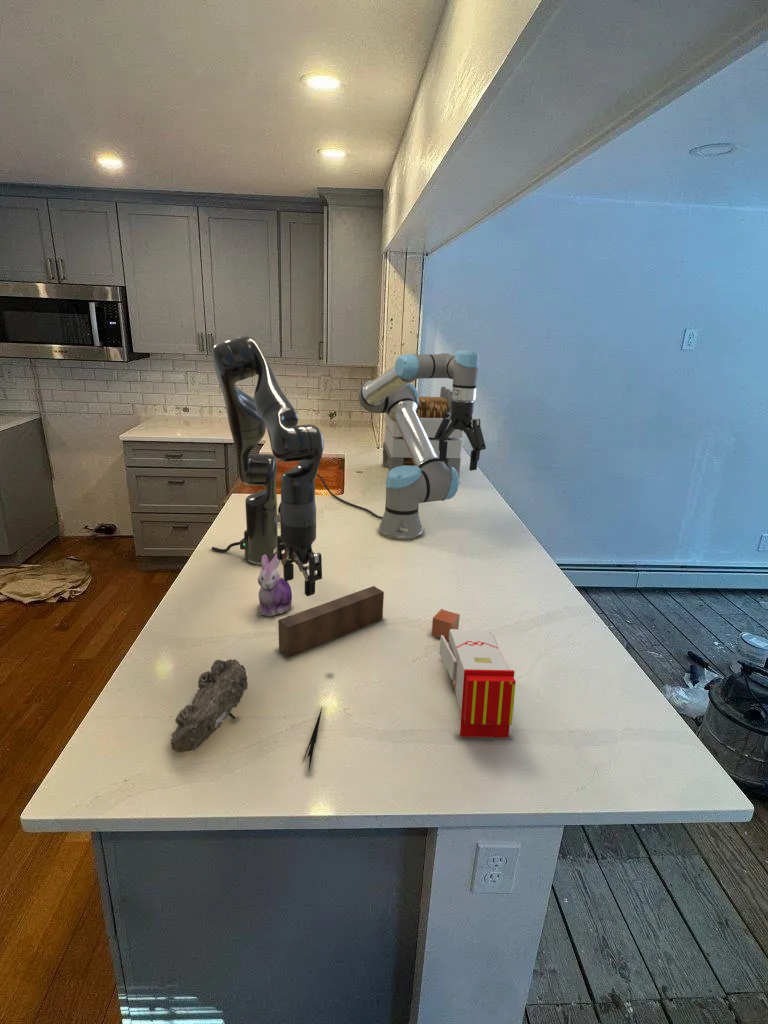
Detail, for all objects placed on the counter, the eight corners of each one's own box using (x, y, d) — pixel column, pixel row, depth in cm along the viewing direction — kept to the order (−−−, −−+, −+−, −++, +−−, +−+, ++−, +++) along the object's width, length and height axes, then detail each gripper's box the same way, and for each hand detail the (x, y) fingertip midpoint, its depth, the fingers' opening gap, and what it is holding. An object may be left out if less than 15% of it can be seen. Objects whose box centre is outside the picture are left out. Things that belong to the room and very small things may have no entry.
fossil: (195, 660, 117) (247, 628, 112) (227, 691, 120) (279, 661, 115) (146, 746, 98) (206, 711, 93) (185, 779, 101) (245, 748, 96)
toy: (489, 613, 130) (525, 677, 101) (485, 667, 133) (518, 744, 104) (437, 612, 130) (457, 676, 101) (434, 666, 133) (453, 743, 103)
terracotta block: (431, 635, 139) (432, 617, 137) (439, 626, 143) (441, 608, 141) (450, 641, 136) (451, 623, 135) (458, 632, 140) (459, 614, 139)
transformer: (381, 463, 289) (385, 382, 275) (444, 464, 292) (450, 384, 279) (389, 482, 257) (393, 392, 243) (459, 483, 261) (467, 394, 247)
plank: (288, 658, 127) (287, 627, 124) (278, 650, 130) (278, 619, 127) (382, 619, 144) (384, 591, 142) (372, 613, 147) (373, 585, 145)
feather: (331, 679, 122) (336, 673, 122) (307, 777, 96) (313, 769, 95) (324, 675, 122) (329, 669, 121) (298, 772, 95) (304, 764, 95)
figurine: (263, 621, 141) (261, 566, 136) (252, 602, 149) (250, 550, 144) (299, 613, 145) (298, 560, 140) (286, 596, 154) (285, 545, 148)
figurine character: (295, 532, 200) (300, 513, 214) (294, 513, 197) (299, 495, 210) (276, 531, 200) (282, 512, 213) (275, 512, 197) (281, 494, 210)
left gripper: (265, 512, 123) (267, 579, 128) (301, 533, 113) (302, 605, 118) (295, 506, 127) (296, 571, 133) (332, 525, 117) (331, 595, 123)
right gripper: (427, 396, 187) (423, 458, 194) (485, 407, 170) (478, 475, 177) (443, 394, 192) (438, 455, 199) (501, 405, 174) (494, 472, 182)
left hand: (299, 587), depth 126 cm, fingers open, 8 cm apart
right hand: (457, 465), depth 188 cm, fingers open, 13 cm apart
